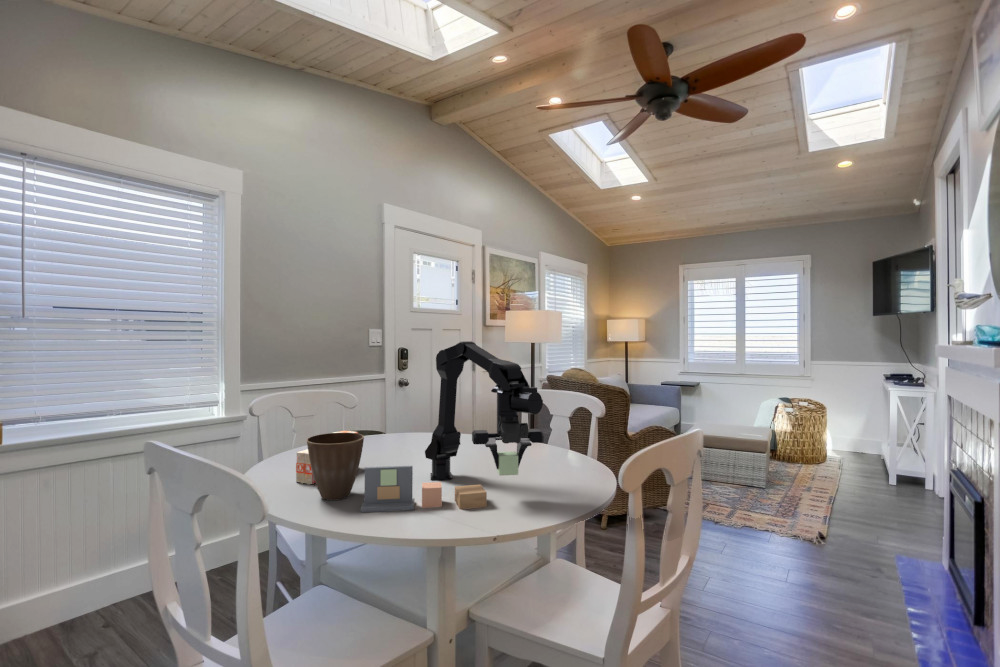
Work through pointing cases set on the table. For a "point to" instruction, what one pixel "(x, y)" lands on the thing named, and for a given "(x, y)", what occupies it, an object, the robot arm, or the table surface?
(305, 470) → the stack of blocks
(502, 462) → the sage block
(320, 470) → the plant pot
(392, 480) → the card
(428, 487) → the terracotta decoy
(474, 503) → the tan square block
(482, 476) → the table surface
